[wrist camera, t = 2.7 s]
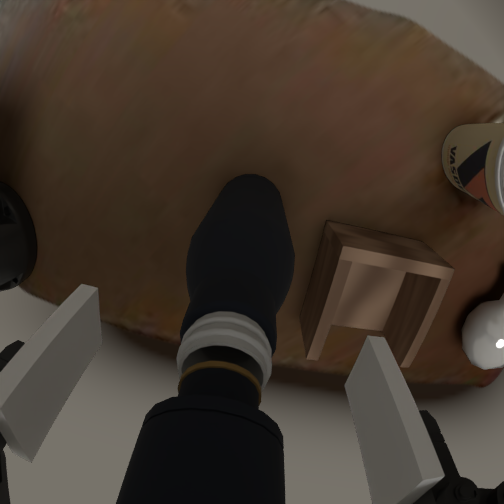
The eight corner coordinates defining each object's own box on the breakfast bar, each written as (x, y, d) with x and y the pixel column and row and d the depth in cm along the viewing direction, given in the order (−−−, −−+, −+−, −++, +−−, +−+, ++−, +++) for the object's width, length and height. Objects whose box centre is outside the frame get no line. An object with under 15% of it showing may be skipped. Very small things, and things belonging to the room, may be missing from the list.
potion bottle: (444, 338, 40) (497, 252, 37) (488, 372, 36) (541, 288, 32) (450, 353, 32) (514, 248, 29) (500, 392, 28) (564, 291, 24)
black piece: (295, 206, 33) (396, 529, 5) (250, 247, 34) (215, 570, 6) (250, 160, 31) (149, 436, 3) (205, 204, 33) (30, 491, 5)
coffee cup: (422, 137, 29) (489, 148, 18) (477, 105, 27) (548, 108, 16) (452, 211, 32) (515, 248, 21) (503, 175, 30) (569, 200, 19)
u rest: (299, 317, 37) (306, 359, 30) (326, 220, 33) (343, 245, 26) (388, 329, 38) (408, 367, 31) (422, 241, 33) (454, 269, 26)
